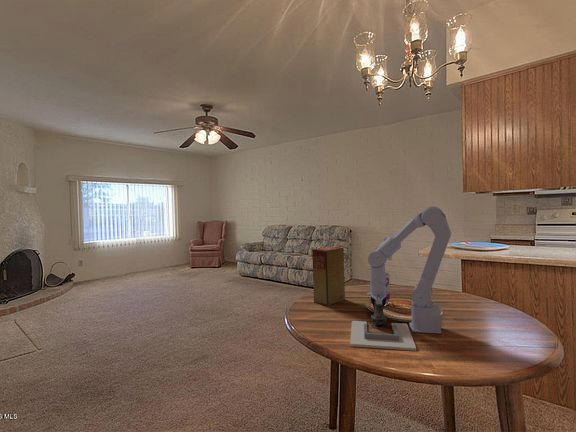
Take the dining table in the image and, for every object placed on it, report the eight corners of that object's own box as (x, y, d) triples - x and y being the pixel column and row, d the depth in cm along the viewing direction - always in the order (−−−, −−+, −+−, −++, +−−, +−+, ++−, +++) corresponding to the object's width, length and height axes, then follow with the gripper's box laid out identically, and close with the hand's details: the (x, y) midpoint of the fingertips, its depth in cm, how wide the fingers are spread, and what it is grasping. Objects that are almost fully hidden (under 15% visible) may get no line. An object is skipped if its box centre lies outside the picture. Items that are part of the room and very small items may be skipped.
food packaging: (330, 295, 156) (329, 245, 155) (346, 299, 149) (345, 247, 148) (312, 302, 147) (311, 249, 146) (328, 306, 140) (326, 250, 139)
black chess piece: (388, 329, 113) (387, 297, 112) (371, 329, 114) (370, 296, 114) (386, 323, 119) (386, 292, 118) (370, 323, 120) (369, 291, 119)
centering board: (406, 325, 116) (406, 319, 116) (416, 350, 96) (416, 342, 96) (351, 322, 120) (351, 316, 120) (350, 346, 101) (350, 338, 101)
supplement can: (392, 306, 137) (391, 272, 136) (373, 307, 137) (372, 273, 137) (386, 301, 145) (386, 269, 145) (368, 301, 145) (368, 269, 145)
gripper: (366, 277, 128) (367, 310, 128) (367, 286, 114) (368, 323, 114) (384, 277, 126) (385, 311, 127) (387, 287, 112) (388, 324, 113)
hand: (378, 317), depth 120 cm, fingers closed
